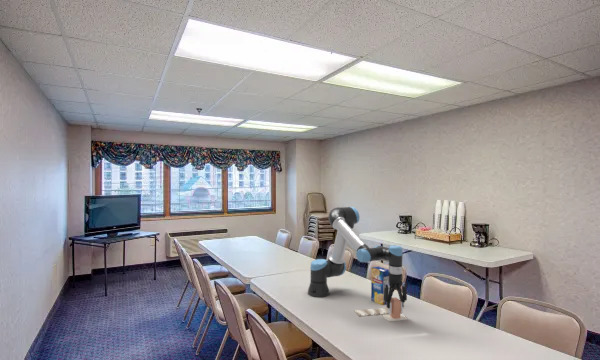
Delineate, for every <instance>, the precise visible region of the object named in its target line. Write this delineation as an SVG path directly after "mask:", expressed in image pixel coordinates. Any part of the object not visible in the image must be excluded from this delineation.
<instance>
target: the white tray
mask: <svg viewBox="0 0 600 360" xmlns="http://www.w3.org/2000/svg"><path fill="white" fill-rule="evenodd" d="M353 312H354V313H355V314H356V315H357V316H358V317H360V318H361V317H370V316H382V315H387V314H389V313H388V308H387V307H381V308H370V309H369V308H368V309H356V310H353Z"/></svg>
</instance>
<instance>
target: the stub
mask: <svg viewBox="0 0 600 360" xmlns="http://www.w3.org/2000/svg"><path fill="white" fill-rule="evenodd" d="M390 302H391V303H392V310H391V315H390V314H385V315H381V316H382V317H383V318H384V319H385V320H387V322H398V321H408V320H409V318H408V317H406V316H405V315H404V314H403V313H402V314H401V300H400V298H397V297H392V298H391V301H390Z"/></svg>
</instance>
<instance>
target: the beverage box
mask: <svg viewBox="0 0 600 360" xmlns="http://www.w3.org/2000/svg"><path fill="white" fill-rule="evenodd" d="M389 273H390V272H389V268H387V267H383V266H379V265H378V266H374V267H371V282H370V284H371V286H370V287H371V288H370V289H371V290H370V291H371V294H370V295H371V298H370V299H371V301H372V302H374V303H376V304H379V305H380V306H387V302H385V301H384V284H387V283H388V282H389ZM389 288H390V286H389V287H388V293H389Z"/></svg>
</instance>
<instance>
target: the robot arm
mask: <svg viewBox="0 0 600 360" xmlns="http://www.w3.org/2000/svg"><path fill="white" fill-rule="evenodd" d="M328 222H329V224H330V226H331V228H333V229H334V230H337V232H336V236H335V240H334V243H333V248H332V252H331V254H330V255H329V256H328V258H327V259H324V258H317V259H314V260H312V261H311V263H310V267H309V268H310V283H309V286H308V289H307V294H308V295H309V296H311V297H315V298H324V297H327V296H329V295H330V288H329V286H328V278H333V277H340V276H342V275H344V274H345V273H346V270H347V266H346V264H347V263H346V262H345V259H344V256H345V252H346V248H347V245H348V244H349V246H350V247H351V249H353V250H354V251H355V254H356V256H355V257H356V258H357V259H356V260H357V261H358V262H360V263H368V262H375V261H381V260H383V261H387V262H388V269H389V272H390V273H389V282H388V283H387V284H384V301H385V302H387V305H386V308H388V313H389V314H390V315H391V310H392V303H391V302H390V301H391V298H393V294H394V292H395V291H396V290H397V294H398V297H399V298H398V299H399V300H401V314H403V308H404V306H405V305H404V304H405V302H406V301H408V298H407V297H408V296H407V295H408V294H407V286H408V283H406V282H403V254H404V253H403V247H402V246H400V245H396V244H395V245H394V244H393V245H389V247H386V246H382V245H376V246H374V247H369V246H368V245H367V244H366V243H365V242H364V240H363V239H362V238H361V237H360V236H359V235H358V234H357V232H355V231H354V226H355V225H356V224H358V223H359V222H360V213H359V210H358V209H357V208H356V207H353V206H347V207H345V206H342V207H340V206H339V207H333V208H332V209H331V210H330V212H329V214H328ZM389 286H390V288H389V293H388V287H389Z"/></svg>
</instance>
